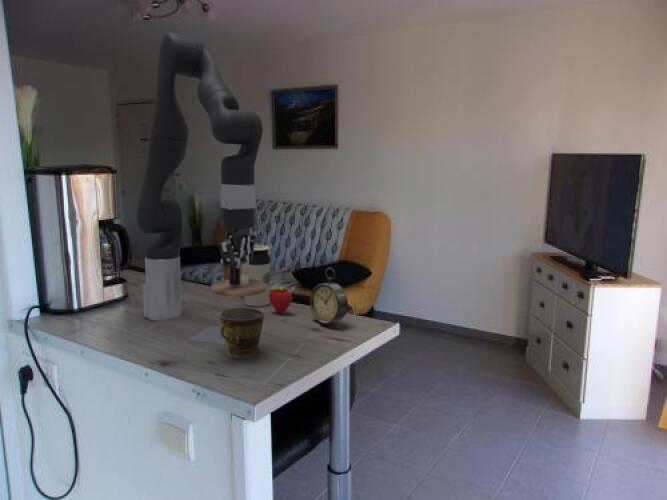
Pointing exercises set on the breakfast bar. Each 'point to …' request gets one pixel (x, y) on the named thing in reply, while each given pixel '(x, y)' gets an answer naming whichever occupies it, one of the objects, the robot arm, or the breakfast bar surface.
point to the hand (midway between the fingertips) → (238, 282)
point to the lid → (245, 286)
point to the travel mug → (259, 276)
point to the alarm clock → (328, 302)
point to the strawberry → (280, 299)
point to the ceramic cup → (241, 330)
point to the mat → (209, 336)
